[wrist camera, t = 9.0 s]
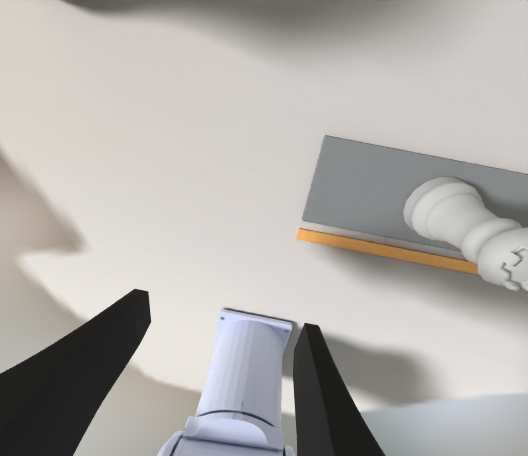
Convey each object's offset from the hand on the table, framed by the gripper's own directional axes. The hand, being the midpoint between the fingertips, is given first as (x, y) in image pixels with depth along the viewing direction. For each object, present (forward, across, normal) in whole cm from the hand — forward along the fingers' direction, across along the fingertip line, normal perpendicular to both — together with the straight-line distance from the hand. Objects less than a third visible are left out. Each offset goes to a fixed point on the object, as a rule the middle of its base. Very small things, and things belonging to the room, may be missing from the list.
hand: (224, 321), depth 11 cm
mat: (+10, -14, -5) cm, 18 cm away
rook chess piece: (+10, -13, -5) cm, 17 cm away
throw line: (+10, -14, 0) cm, 17 cm away
